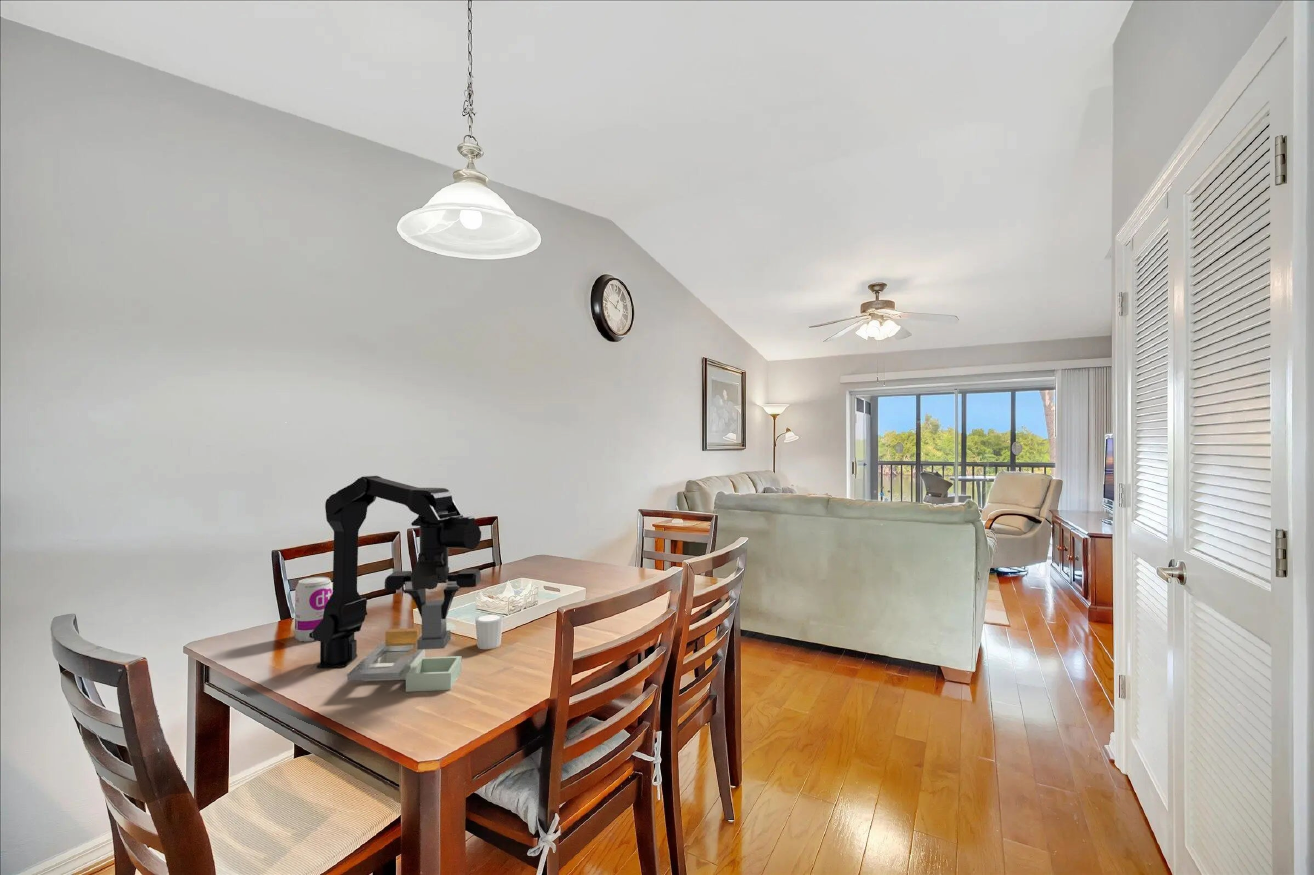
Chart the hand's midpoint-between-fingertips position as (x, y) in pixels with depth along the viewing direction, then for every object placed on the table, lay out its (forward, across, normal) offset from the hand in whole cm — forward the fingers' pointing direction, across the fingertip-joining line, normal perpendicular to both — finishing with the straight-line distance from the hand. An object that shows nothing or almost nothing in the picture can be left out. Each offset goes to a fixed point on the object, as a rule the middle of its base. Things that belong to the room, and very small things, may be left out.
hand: (434, 619), depth 119 cm
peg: (+6, 0, 0) cm, 6 cm away
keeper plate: (+10, -10, +3) cm, 15 cm away
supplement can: (+13, -39, +30) cm, 51 cm away
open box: (+13, 0, 0) cm, 13 cm away
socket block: (+13, -10, +6) cm, 18 cm away
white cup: (+14, +8, +20) cm, 26 cm away
